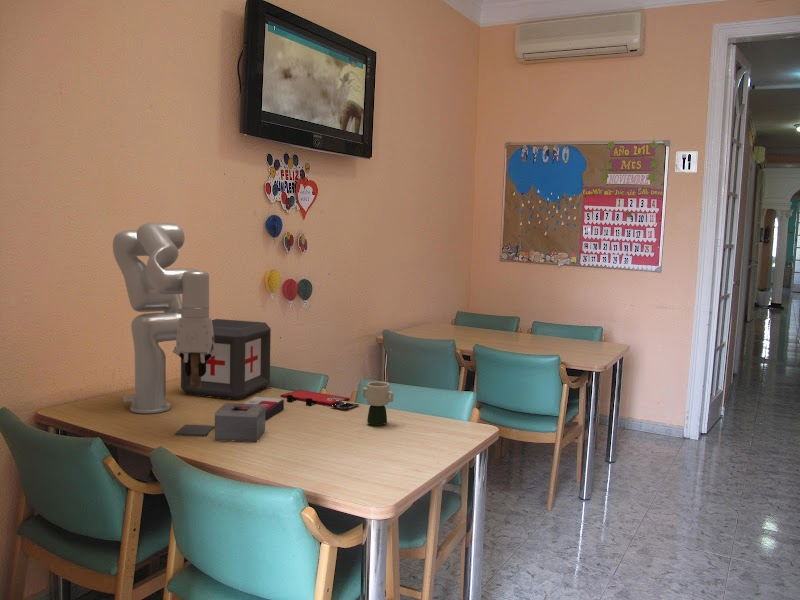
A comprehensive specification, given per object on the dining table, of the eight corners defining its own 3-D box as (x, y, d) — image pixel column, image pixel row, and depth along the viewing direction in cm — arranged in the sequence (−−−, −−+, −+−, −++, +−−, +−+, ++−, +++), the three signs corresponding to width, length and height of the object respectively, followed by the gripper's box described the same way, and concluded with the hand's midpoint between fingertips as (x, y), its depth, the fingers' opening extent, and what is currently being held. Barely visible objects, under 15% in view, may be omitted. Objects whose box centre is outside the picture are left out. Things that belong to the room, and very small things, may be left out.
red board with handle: (342, 413, 227) (367, 404, 240) (342, 404, 227) (367, 397, 240) (273, 400, 242) (300, 393, 255) (273, 392, 242) (300, 386, 255)
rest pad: (174, 435, 197) (174, 433, 197) (185, 426, 206) (185, 424, 206) (205, 436, 197) (205, 434, 196) (214, 427, 205) (214, 425, 205)
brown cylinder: (188, 388, 198) (188, 347, 197) (192, 386, 201) (192, 346, 200) (199, 388, 198) (199, 348, 197) (202, 386, 201) (202, 346, 200)
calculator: (233, 407, 216) (253, 394, 231) (233, 420, 217) (254, 407, 231) (265, 410, 214) (284, 397, 228) (265, 424, 215) (284, 409, 229)
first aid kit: (214, 380, 267) (214, 317, 265) (272, 386, 261) (273, 322, 258) (177, 395, 243) (177, 325, 241) (240, 402, 237) (241, 330, 234)
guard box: (214, 440, 193) (214, 412, 193) (225, 429, 204) (225, 403, 204) (256, 441, 193) (256, 414, 192) (265, 430, 204) (265, 404, 203)
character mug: (397, 424, 216) (398, 384, 214) (386, 429, 209) (388, 388, 208) (367, 419, 220) (368, 379, 219) (356, 424, 214) (357, 383, 213)
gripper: (163, 313, 194) (163, 377, 196) (219, 315, 194) (219, 379, 195) (172, 311, 201) (172, 372, 203) (227, 312, 201) (227, 373, 203)
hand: (195, 375), depth 199 cm, fingers closed on brown cylinder, 3 cm apart
